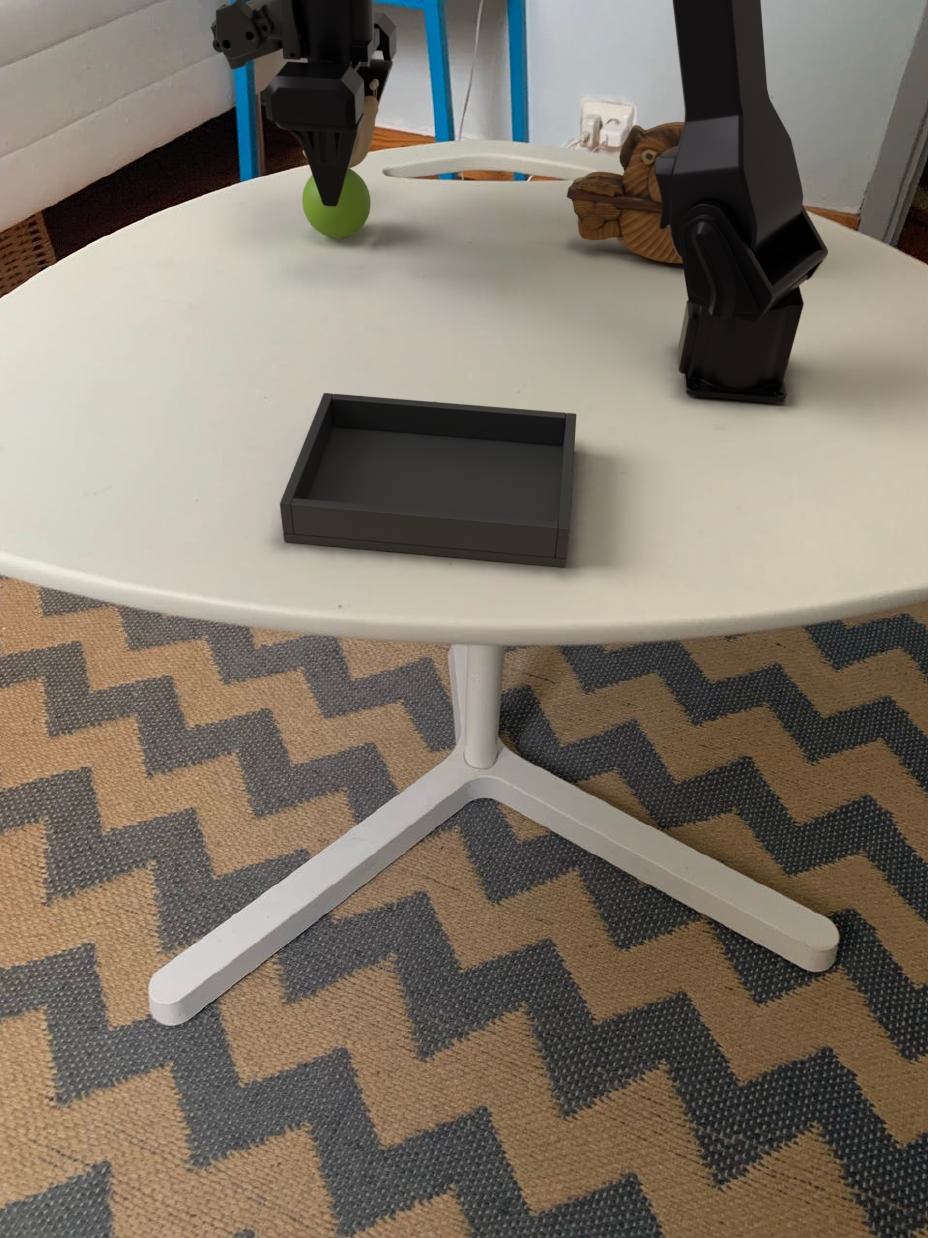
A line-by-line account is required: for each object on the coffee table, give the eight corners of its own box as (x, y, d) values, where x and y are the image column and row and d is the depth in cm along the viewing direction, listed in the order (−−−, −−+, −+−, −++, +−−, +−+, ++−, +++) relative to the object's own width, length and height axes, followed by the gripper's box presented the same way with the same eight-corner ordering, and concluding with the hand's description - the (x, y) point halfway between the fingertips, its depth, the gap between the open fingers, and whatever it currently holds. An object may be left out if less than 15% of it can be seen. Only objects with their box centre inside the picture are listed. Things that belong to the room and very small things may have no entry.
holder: (572, 449, 64) (576, 412, 62) (565, 567, 55) (570, 529, 54) (326, 429, 65) (323, 392, 63) (283, 542, 56) (279, 503, 55)
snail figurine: (373, 253, 83) (368, 91, 75) (296, 244, 84) (282, 83, 76) (390, 226, 87) (387, 69, 79) (316, 218, 88) (305, 62, 80)
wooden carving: (558, 258, 83) (570, 126, 77) (566, 235, 87) (578, 107, 80) (767, 283, 81) (799, 150, 74) (768, 259, 84) (798, 129, 78)
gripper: (250, -80, 79) (270, 136, 90) (173, -24, 66) (208, 222, 76) (395, -72, 79) (399, 144, 89) (348, -14, 65) (359, 233, 76)
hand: (342, 182), depth 83 cm, fingers open, 9 cm apart
